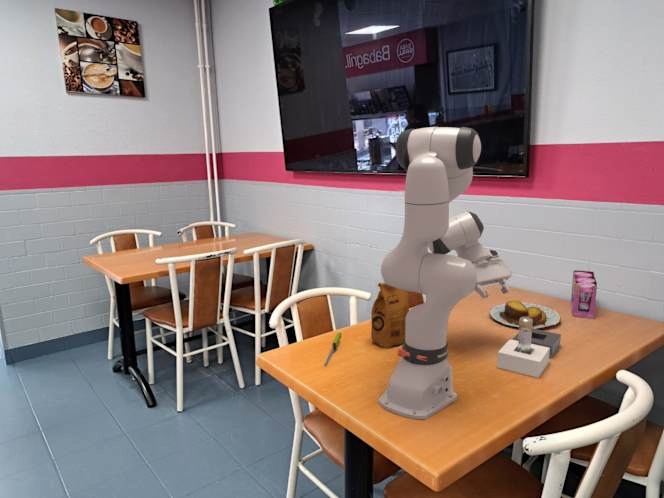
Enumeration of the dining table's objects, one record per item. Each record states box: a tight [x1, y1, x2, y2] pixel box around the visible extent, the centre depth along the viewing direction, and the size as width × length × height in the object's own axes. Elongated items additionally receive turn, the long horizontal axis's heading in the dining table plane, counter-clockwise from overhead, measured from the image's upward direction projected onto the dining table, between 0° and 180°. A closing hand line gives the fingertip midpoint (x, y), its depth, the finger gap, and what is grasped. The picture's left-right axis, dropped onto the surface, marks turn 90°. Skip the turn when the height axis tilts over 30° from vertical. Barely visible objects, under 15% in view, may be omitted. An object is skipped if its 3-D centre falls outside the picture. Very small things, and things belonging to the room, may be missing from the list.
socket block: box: [512, 328, 562, 359], centre depth 156 cm, size 12×12×4 cm
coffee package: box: [370, 282, 410, 349], centre depth 162 cm, size 10×12×22 cm
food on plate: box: [488, 300, 562, 332], centre depth 182 cm, size 25×25×7 cm
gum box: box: [570, 269, 598, 319], centre depth 191 cm, size 24×8×14 cm, turn 155°
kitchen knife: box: [324, 332, 342, 367], centre depth 154 cm, size 22×1×3 cm, turn 166°
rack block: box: [496, 339, 550, 379], centre depth 143 cm, size 12×12×5 cm
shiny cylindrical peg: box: [518, 317, 533, 355], centre depth 142 cm, size 4×4×15 cm
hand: (496, 294), depth 150 cm, fingers open, 8 cm apart
